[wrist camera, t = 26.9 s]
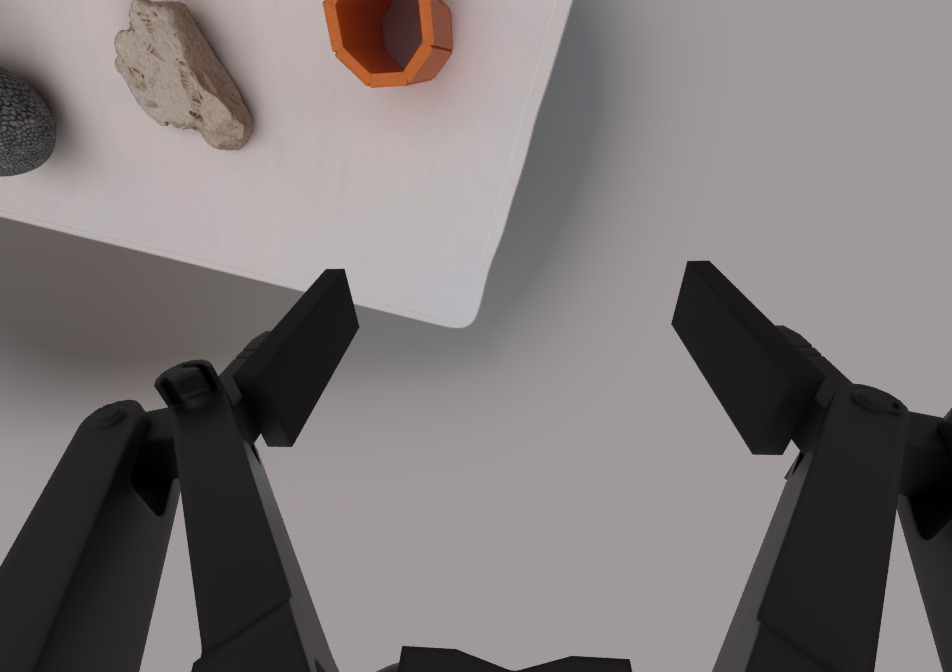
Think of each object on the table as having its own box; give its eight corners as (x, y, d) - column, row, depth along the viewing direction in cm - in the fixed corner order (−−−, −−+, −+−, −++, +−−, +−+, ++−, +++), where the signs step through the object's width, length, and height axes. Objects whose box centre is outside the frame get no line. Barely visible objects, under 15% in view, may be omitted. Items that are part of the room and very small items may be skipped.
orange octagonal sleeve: (448, -22, 32) (426, -56, 23) (455, 78, 36) (438, 83, 27) (365, -16, 33) (312, -46, 24) (381, 83, 37) (340, 89, 28)
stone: (196, -8, 34) (153, -17, 30) (273, 136, 40) (246, 144, 36) (116, 33, 36) (66, 29, 32) (201, 164, 42) (168, 175, 38)
